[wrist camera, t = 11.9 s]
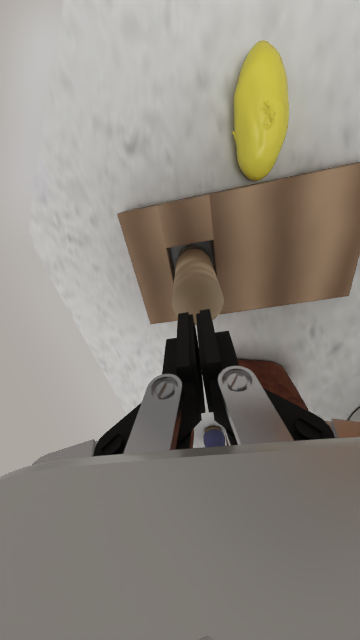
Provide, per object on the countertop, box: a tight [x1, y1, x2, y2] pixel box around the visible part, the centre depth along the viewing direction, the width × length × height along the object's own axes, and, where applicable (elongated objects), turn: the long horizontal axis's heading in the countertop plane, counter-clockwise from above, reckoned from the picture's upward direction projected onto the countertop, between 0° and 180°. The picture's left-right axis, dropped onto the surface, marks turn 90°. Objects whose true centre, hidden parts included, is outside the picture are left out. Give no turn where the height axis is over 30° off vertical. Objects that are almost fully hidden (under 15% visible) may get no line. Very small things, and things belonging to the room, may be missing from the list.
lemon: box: [232, 40, 289, 181], centre depth 16 cm, size 4×8×4 cm, turn 6°
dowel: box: [172, 245, 224, 325], centre depth 19 cm, size 4×4×11 cm
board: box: [117, 162, 360, 324], centre depth 22 cm, size 22×12×3 cm, turn 100°
